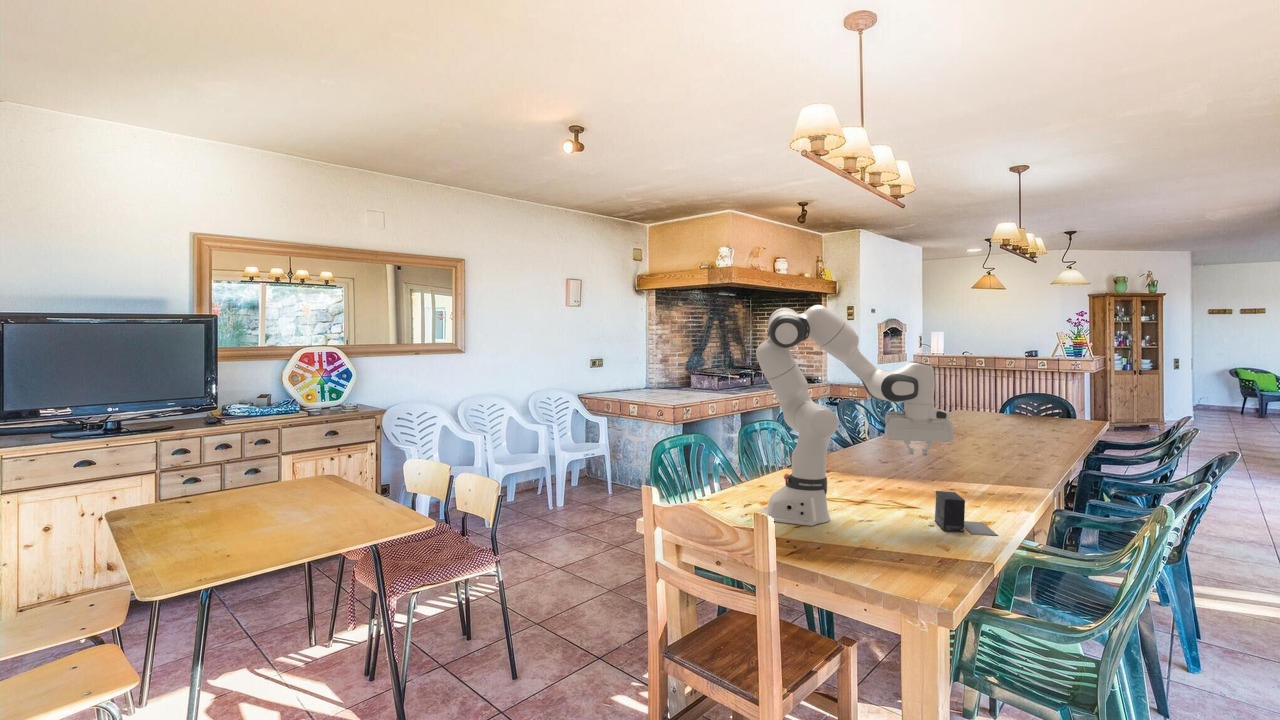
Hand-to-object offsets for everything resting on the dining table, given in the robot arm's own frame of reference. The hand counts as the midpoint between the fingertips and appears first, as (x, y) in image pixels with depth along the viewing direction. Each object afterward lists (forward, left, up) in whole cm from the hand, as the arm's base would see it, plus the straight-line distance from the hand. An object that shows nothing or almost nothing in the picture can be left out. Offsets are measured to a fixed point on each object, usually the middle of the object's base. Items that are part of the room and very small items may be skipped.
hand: (917, 454), depth 197 cm
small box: (+10, 0, -23) cm, 25 cm away
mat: (+18, 0, -23) cm, 29 cm away
